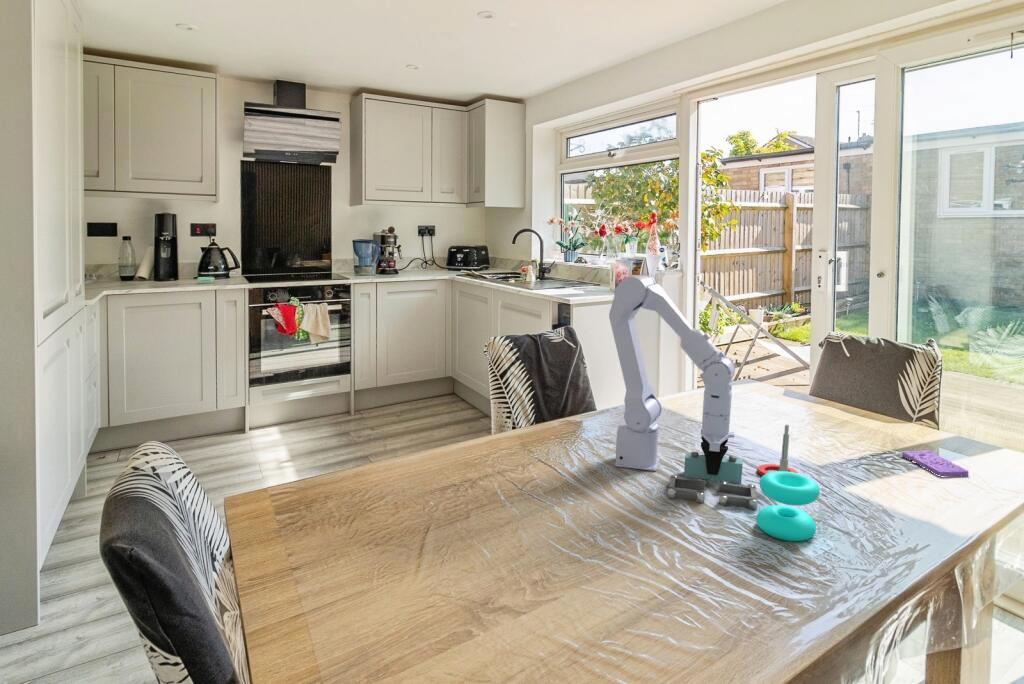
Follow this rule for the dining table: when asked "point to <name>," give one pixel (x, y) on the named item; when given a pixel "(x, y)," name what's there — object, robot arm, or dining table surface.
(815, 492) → the donuts
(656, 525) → the dining table surface
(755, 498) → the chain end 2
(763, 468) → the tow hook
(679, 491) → the chain end
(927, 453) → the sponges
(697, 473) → the teal studded beam
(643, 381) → the robot arm
